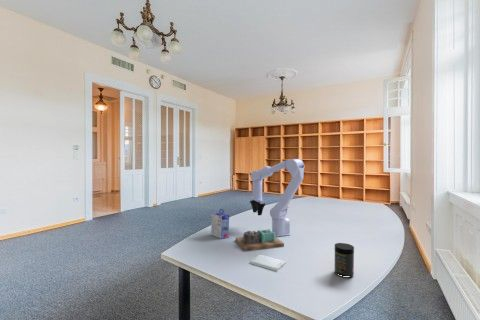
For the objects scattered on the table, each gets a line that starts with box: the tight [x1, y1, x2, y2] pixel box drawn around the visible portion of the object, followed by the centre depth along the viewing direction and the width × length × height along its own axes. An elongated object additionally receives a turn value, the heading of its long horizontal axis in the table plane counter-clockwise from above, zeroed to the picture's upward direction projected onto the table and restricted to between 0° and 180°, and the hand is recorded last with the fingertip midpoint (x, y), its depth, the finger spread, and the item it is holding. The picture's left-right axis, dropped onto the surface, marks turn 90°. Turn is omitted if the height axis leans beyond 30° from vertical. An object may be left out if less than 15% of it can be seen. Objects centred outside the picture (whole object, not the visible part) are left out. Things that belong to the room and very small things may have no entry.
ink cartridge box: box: [210, 208, 230, 240], centre depth 133 cm, size 10×6×14 cm, turn 41°
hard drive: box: [249, 254, 287, 272], centre depth 99 cm, size 2×8×12 cm
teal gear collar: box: [256, 228, 275, 243], centre depth 123 cm, size 7×7×4 cm
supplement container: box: [333, 242, 355, 277], centre depth 91 cm, size 7×7×10 cm
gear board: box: [235, 229, 285, 252], centre depth 122 cm, size 20×15×6 cm
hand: (257, 213), depth 145 cm, fingers open, 7 cm apart
